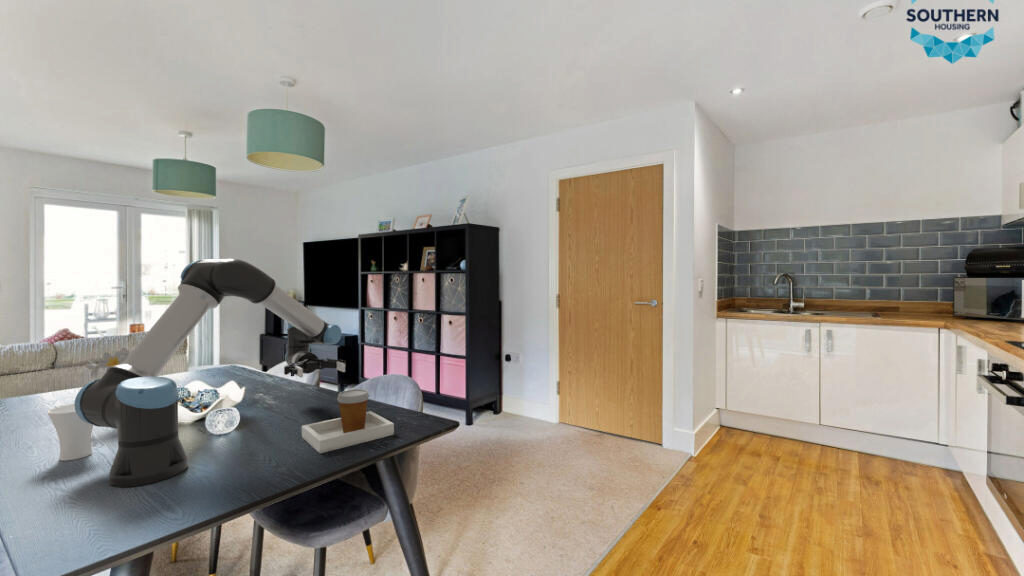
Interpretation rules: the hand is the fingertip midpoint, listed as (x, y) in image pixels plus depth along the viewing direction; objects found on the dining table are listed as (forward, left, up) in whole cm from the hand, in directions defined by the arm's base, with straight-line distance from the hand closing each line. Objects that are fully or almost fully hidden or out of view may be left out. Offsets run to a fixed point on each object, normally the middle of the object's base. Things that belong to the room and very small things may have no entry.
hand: (323, 370), depth 148 cm
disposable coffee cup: (+4, -16, -17) cm, 24 cm away
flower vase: (-50, +50, -18) cm, 73 cm away
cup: (-60, +18, -18) cm, 66 cm away
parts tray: (+2, -17, -18) cm, 25 cm away
